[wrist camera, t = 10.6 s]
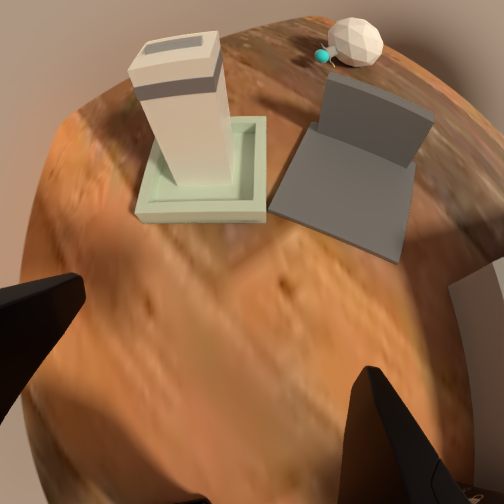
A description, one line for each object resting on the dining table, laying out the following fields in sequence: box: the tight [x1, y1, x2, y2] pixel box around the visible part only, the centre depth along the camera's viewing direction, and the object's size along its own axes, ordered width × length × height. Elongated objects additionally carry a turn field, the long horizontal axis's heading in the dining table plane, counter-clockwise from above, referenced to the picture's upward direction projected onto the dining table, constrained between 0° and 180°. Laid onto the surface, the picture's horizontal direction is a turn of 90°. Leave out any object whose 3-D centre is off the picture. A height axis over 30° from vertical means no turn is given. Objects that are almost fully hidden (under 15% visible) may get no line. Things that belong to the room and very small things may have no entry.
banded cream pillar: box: [128, 31, 235, 186], centre depth 19 cm, size 4×5×14 cm
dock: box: [268, 71, 434, 265], centre depth 21 cm, size 12×12×8 cm
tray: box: [134, 116, 266, 224], centre depth 25 cm, size 11×11×2 cm
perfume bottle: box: [314, 18, 383, 67], centre depth 29 cm, size 8×8×12 cm
